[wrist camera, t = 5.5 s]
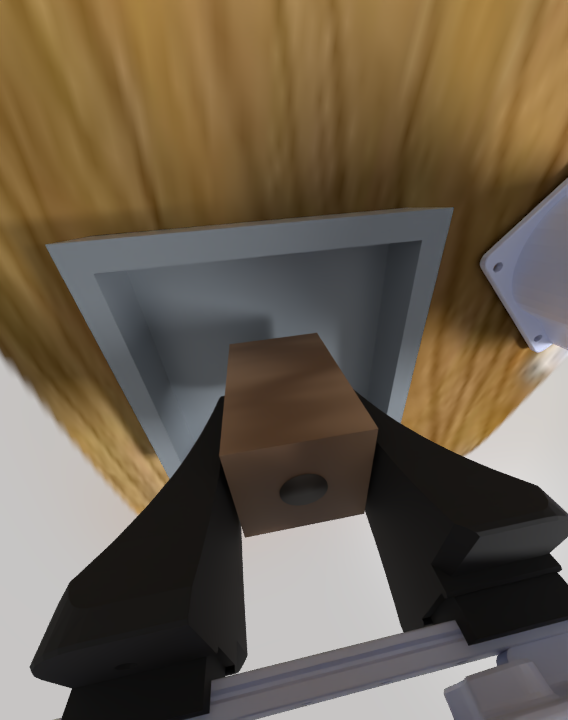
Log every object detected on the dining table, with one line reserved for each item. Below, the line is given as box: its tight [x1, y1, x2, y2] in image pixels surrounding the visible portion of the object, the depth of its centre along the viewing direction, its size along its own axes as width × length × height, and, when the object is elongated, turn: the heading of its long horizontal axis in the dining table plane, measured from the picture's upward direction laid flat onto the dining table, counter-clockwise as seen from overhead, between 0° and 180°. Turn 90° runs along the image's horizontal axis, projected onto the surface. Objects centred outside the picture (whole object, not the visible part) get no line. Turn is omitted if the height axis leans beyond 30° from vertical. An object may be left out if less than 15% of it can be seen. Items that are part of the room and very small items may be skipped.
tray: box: [45, 207, 454, 479], centre depth 13 cm, size 14×14×3 cm
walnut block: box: [219, 333, 378, 537], centre depth 10 cm, size 4×4×6 cm
